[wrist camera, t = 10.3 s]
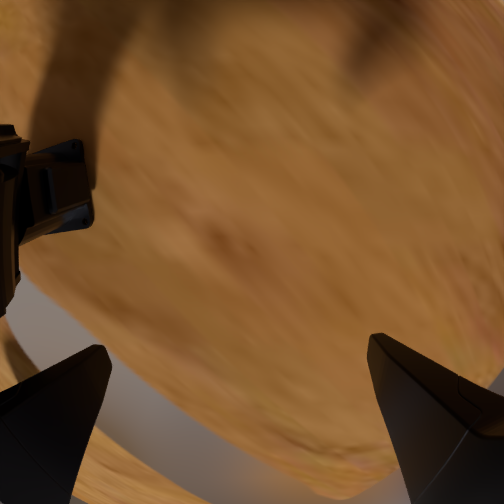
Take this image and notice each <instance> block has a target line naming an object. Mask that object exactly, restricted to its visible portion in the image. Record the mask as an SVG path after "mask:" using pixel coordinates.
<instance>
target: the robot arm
mask: <svg viewBox="0 0 504 504" xmlns="http://www.w3.org/2000/svg"><path fill="white" fill-rule="evenodd" d="M75 143H77V147H76V149H75ZM29 145H30V141H29V140H24V139H22V137H19V136H18V135H17V134H16V132H15V129H14V125H11V124H0V318H1V317H2V316H4V315H5V314H6V307H7V306H8V304H9V303H10V302H11V300H12V298H13V297H14V293H15V288H16V286H17V284H18V283H19V282H20V280H21V274H20V271H19V246H21V245H23V244H25V243H27V242H30V241H32V240H34V239H36V238H38V237H40V236H42V235H47V234H53V233H60V232H66V231H73V230H79V229H86V228H89V227H91V226H92V224H93V217H92V211H91V206H90V194H89V188H88V180H87V173H86V165H85V163H84V153H83V143H82V141H81V140H80V139H72V140H69V141H66V142H63V143H60V144H58V145H55V146H52V147H49V148H46V149H44V150H41V151H39V152H36V153H33V154H28V155H26V153H27V151H28V150H29ZM85 218H86V219H87V221H88V223H86V222H85ZM367 362H368V366H369V370H370V374H371V378H372V382H373V386H374V391H375V395H376V399H377V402H378V404H379V407H380V410H381V413H382V415H383V418H384V421H385V424H386V427H387V430H388V432H389V435H390V438H391V441H392V444H393V447H394V450H395V453H396V456H397V459H398V462H399V465H400V468H401V472H402V475H403V478H404V481H405V484H406V488H407V491H408V495H409V498H410V501H411V504H504V397H503V396H501V395H499V394H496V393H494V392H491V391H489V390H487V389H485V388H483V387H480V386H478V385H477V384H475V383H473V382H471V381H469V380H467V379H465V378H463V377H462V376H458V374H456V373H454V372H452V371H451V370H449V369H447V368H445V367H443V366H442V365H440V364H438V363H436V362H434V361H432V360H431V359H429V358H427V357H425V356H423V355H422V354H420V353H418V352H416V351H415V350H413V349H411V348H409V347H407V346H406V345H404V344H402V343H400V342H398V341H397V340H395V339H393V338H391V337H389V336H388V335H386V334H384V333H376V334H371V335H370V338H369V344H368V351H367ZM111 371H112V363H111V360H110V358H109V355H108V353H107V350H106V348H105V347H104V346H103V345H97V344H94V345H91V346H90V347H88V348H86V349H84V350H82V351H80V352H78V353H76V354H74V355H72V356H70V357H69V358H67V359H65V360H63V361H61V362H59V363H57V364H55V365H53V366H51V367H49V368H47V369H45V370H44V371H41V372H40V373H38V374H36V375H34V376H32V377H30V378H28V379H26V380H24V381H22V382H20V383H18V384H16V385H14V386H12V387H10V388H8V389H6V390H4V391H2V392H0V504H69V502H70V499H71V495H72V491H73V488H74V485H75V481H76V478H77V475H78V472H79V468H80V465H81V462H82V459H83V456H84V453H85V450H86V447H87V444H88V441H89V439H90V436H91V433H92V430H93V427H94V425H95V422H96V419H97V416H98V414H99V411H100V409H101V406H102V403H103V400H104V396H105V392H106V389H107V385H108V381H109V378H110V374H111Z"/></svg>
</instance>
